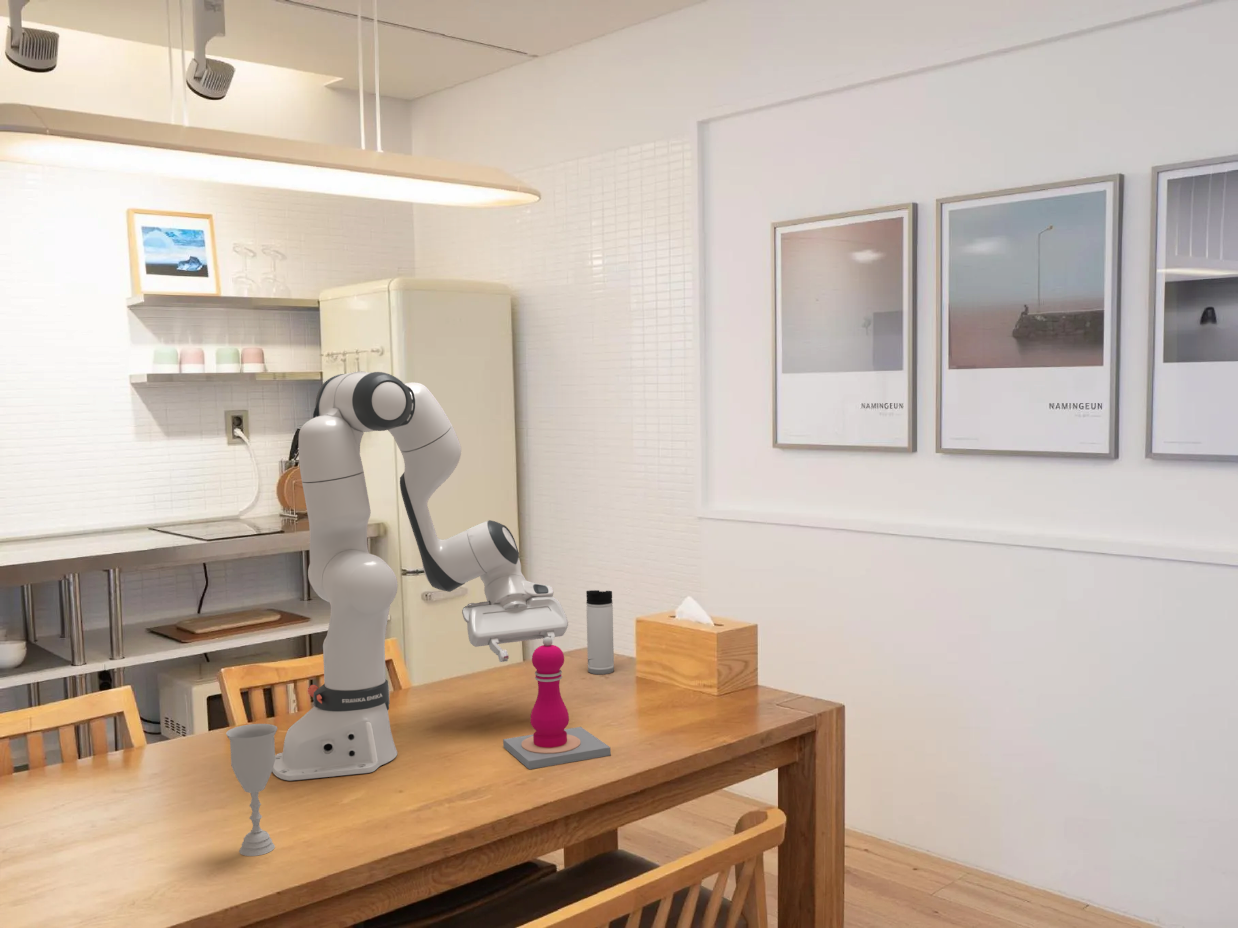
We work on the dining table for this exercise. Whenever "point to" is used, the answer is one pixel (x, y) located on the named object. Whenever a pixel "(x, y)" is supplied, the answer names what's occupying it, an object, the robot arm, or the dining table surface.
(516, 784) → the dining table surface
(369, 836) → the dining table surface
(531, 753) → the mount board
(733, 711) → the dining table surface
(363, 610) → the robot arm
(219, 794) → the dining table surface
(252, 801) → the chalice
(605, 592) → the travel mug
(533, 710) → the pepper mill
